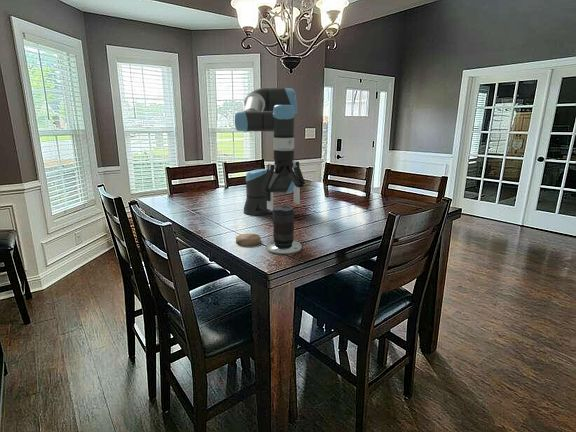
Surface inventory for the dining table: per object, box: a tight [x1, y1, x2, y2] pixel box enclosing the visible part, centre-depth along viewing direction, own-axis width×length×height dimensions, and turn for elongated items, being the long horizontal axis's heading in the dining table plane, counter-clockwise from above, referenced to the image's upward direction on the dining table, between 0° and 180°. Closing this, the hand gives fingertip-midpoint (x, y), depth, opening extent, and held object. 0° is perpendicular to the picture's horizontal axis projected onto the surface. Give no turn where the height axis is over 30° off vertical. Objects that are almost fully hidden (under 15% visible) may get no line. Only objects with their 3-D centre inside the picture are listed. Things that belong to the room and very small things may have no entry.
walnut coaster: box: [235, 233, 262, 247], centre depth 139 cm, size 10×10×2 cm
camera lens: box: [272, 205, 295, 248], centre depth 131 cm, size 8×8×15 cm
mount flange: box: [265, 240, 303, 256], centre depth 133 cm, size 14×14×1 cm
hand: (283, 206), depth 129 cm, fingers open, 13 cm apart
